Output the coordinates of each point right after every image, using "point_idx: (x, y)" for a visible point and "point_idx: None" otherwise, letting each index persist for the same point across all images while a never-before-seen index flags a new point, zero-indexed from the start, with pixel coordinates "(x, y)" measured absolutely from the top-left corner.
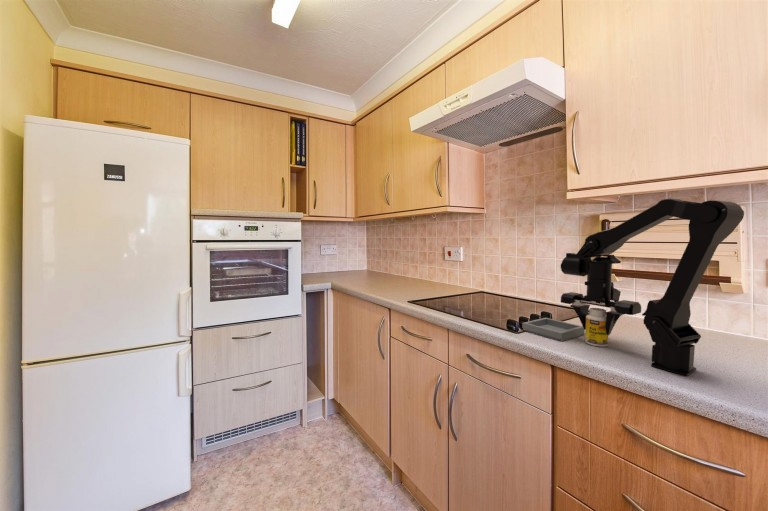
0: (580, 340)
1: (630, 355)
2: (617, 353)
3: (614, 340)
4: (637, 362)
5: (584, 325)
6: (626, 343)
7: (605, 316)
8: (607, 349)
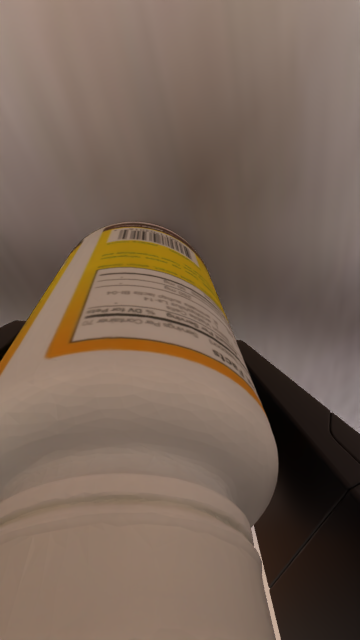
0: (28, 288)
1: (330, 344)
2: (272, 362)
3: (212, 10)
4: (350, 407)
5: None
6: (321, 39)
7: (230, 486)
8: None
